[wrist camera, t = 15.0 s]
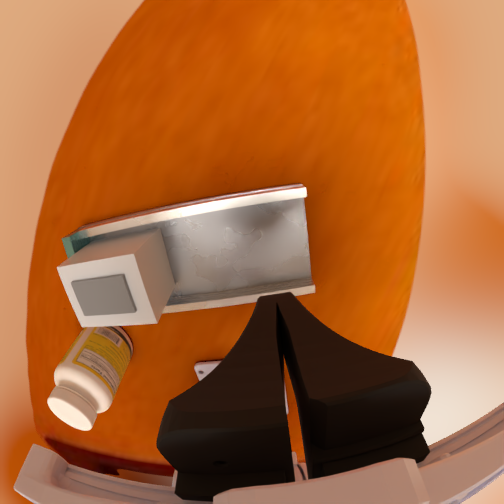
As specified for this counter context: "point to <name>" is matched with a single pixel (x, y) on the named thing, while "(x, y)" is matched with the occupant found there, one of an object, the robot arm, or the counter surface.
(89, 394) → the supplement bottle
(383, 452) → the robot arm
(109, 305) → the block
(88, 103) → the counter surface
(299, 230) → the rail plate
